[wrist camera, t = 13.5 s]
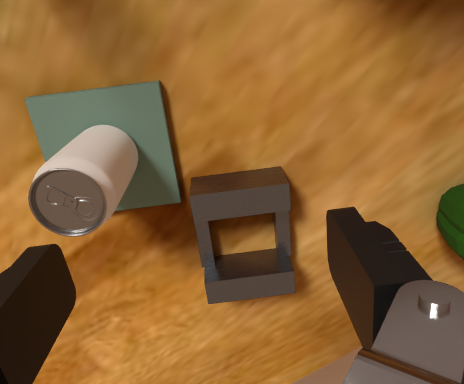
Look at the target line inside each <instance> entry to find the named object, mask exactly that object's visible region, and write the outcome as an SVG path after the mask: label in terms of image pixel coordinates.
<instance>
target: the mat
mask: <svg viewBox="0 0 464 384" xmlns="http://www.w3.org/2000/svg"><path fill="white" fill-rule="evenodd" d="M25 102H26V105H27V108H28V111H29V114H30V117H31V120H32V123H33V126H34V129H35V132H36V135H37V138H38V141H39V144H40V147H41V150H42V153H43V156H44V159H45V162H47V161H48V160H49V159H50V158H51V157H52V156H54V155H55V154H56V153H57V152H58V151H60V150H61V149H62V148H63V147H65V146H66V145H67V144H68V143H69V142H71V141H72V140H73V139H74V138H76V137H77V136H78V135H79V134H81V133H82V132H83V131H85V130H86V129H88V128H90V127H92V126H96V125H110V126H113V127H116V128H118V129H120V130H122V131H124V132H125V133H126V134H127V135H128V136H129V137H130V138H131V139H132V140H133V142H134V144H135V146H136V148H137V151H138V164H137V168H136V170H135V172H134V175H133V177H132V179H131V181H130V183H129V184H128V186H127V188H126V190H125V192H124V194H123V196H122V198H121V200H120V202H119V204H118V206H117V207H116V209H115V211H119V210H127V209H134V208H142V207H150V206H158V205H166V204H174V203H181V193H180V187H179V182H178V177H177V171H176V166H175V160H174V155H173V150H172V144H171V139H170V133H169V128H168V123H167V117H166V112H165V106H164V101H163V96H162V90H161V85H160V81H152V82H144V83H136V84H128V85H120V86H112V87H104V88H96V89H88V90H80V91H72V92H64V93H56V94H48V95H40V96H32V97H28V98H25Z"/></svg>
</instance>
